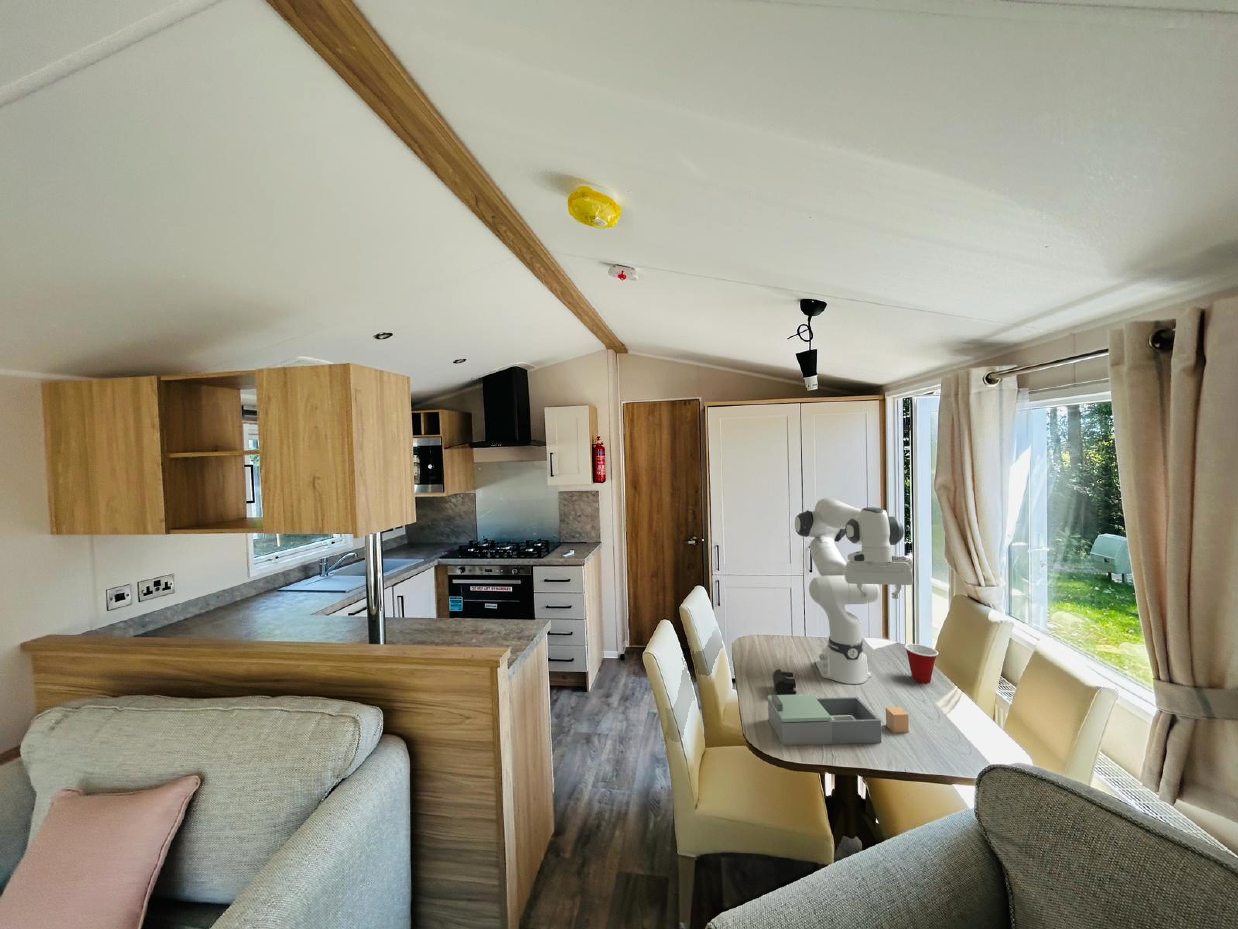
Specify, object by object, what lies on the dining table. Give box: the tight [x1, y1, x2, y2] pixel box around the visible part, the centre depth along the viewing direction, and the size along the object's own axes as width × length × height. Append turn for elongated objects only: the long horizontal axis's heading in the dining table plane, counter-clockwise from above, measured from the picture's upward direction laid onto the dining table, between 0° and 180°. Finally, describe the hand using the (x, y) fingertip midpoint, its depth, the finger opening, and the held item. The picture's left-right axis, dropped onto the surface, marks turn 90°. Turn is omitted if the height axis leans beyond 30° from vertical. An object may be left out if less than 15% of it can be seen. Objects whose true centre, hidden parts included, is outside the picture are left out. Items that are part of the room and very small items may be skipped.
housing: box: [767, 696, 882, 746], centre depth 154 cm, size 15×29×6 cm, turn 90°
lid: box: [767, 693, 831, 722], centre depth 154 cm, size 15×15×3 cm
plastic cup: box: [904, 643, 939, 684], centre depth 185 cm, size 11×11×12 cm
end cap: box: [772, 668, 797, 695], centre depth 179 cm, size 10×7×7 cm
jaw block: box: [885, 706, 909, 733], centre depth 153 cm, size 4×4×6 cm
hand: (879, 598), depth 164 cm, fingers open, 8 cm apart
